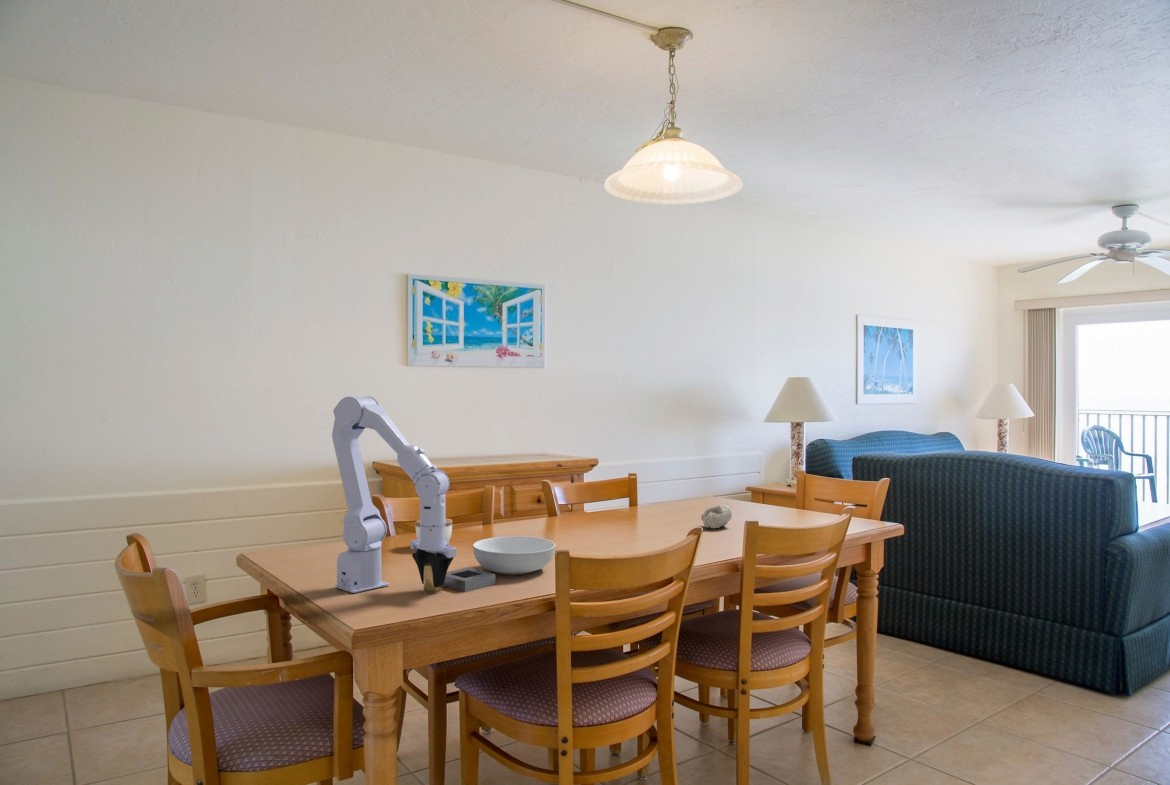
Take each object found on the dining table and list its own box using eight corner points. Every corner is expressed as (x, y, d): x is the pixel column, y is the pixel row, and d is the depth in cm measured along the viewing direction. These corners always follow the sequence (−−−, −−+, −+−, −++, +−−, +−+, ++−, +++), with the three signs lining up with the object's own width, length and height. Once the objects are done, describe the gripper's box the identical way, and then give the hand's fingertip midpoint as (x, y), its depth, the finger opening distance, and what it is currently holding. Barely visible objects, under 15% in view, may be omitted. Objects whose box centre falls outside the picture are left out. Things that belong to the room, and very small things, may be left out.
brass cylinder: (430, 594, 167) (430, 567, 167) (420, 591, 169) (420, 564, 169) (445, 590, 170) (445, 564, 170) (434, 587, 172) (434, 561, 172)
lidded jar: (448, 551, 213) (448, 518, 213) (410, 550, 213) (410, 517, 213) (456, 543, 224) (456, 512, 224) (420, 543, 224) (420, 512, 224)
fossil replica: (699, 530, 246) (730, 534, 244) (701, 506, 245) (732, 509, 244) (700, 521, 258) (730, 525, 256) (702, 498, 257) (732, 501, 255)
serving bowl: (496, 585, 175) (496, 556, 175) (459, 568, 192) (459, 541, 192) (571, 573, 186) (571, 546, 186) (530, 558, 204) (530, 533, 204)
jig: (465, 591, 169) (465, 581, 169) (438, 584, 176) (438, 574, 176) (495, 584, 176) (495, 574, 176) (468, 577, 182) (468, 567, 182)
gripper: (466, 526, 168) (466, 586, 168) (428, 519, 177) (428, 576, 177) (441, 530, 162) (441, 593, 162) (402, 522, 172) (402, 581, 172)
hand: (432, 584), depth 170 cm, fingers closed on brass cylinder, 4 cm apart
